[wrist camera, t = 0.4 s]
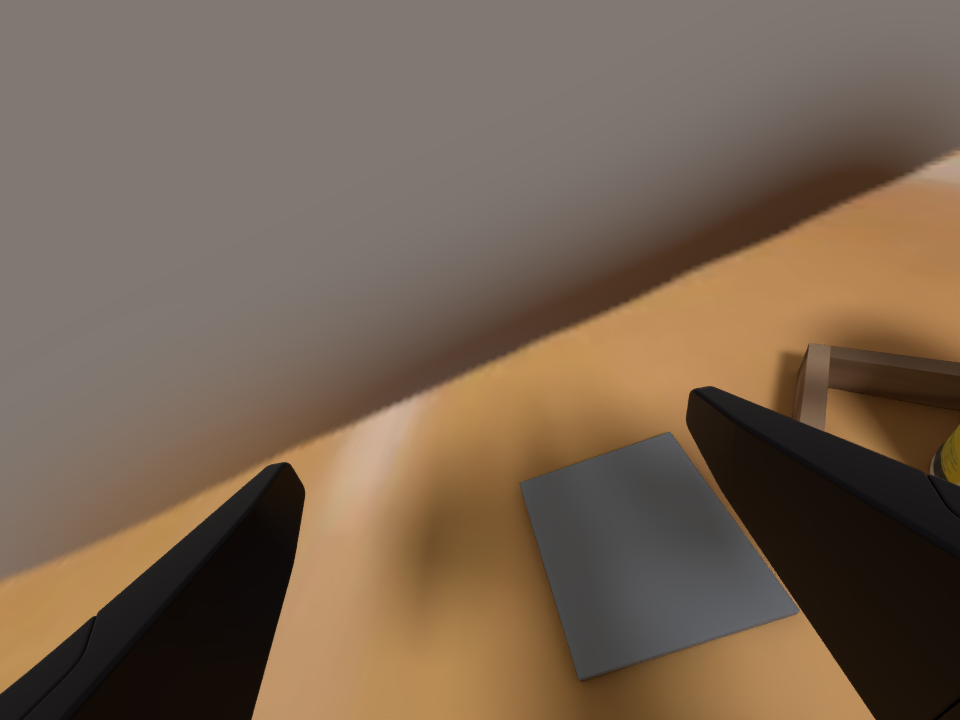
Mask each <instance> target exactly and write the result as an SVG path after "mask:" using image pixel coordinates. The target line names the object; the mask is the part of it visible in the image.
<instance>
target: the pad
mask: <svg viewBox="0 0 960 720" xmlns="http://www.w3.org/2000/svg"><path fill="white" fill-rule="evenodd" d="M519 484H520V487H521V490H522V494H523V497H524V500H525V504H526V507H527V510H528V513H529V517H530V520H531V523H532V527H533V530H534V533H535V537H536V540H537V543H538V547H539V550H540V553H541V557H542V560H543V563H544V566H545V570H546V573H547V576H548V580H549V583H550V586H551V590H552V593H553V596H554V600H555V603H556V606H557V610H558V613H559V616H560V619H561V623H562V626H563V629H564V633H565V636H566V639H567V643H568V646H569V649H570V653H571V656H572V659H573V663H574V666H575V669H576V672H577V676H578V679H579V680H580V681H583V680H586V679H589V678H592V677H595V676H599V675H602V674H605V673H608V672H612V671H615V670H618V669H621V668H625V667H628V666H631V665H634V664H637V663H641V662H644V661H647V660H650V659H654V658H657V657H660V656H663V655H666V654H670V653H673V652H676V651H679V650H683V649H686V648H689V647H692V646H696V645H699V644H702V643H705V642H708V641H712V640H715V639H718V638H721V637H725V636H728V635H731V634H734V633H738V632H741V631H744V630H747V629H750V628H754V627H757V626H760V625H763V624H767V623H770V622H773V621H776V620H779V619H783V618H786V617H789V616H792V615H796V614H797V613H798V612H799V611H800V610H799V609H798V607H797V606H796V605H795V603H794V602H793V601H792V599H791V598H790V596H789V595H788V594H787V592H786V591H785V590H784V588H783V587H782V585H781V584H780V583H779V581H778V580H777V578H776V577H775V576H774V574H773V573H772V572H771V570H770V569H769V567H768V566H767V565H766V563H765V562H764V561H763V559H762V558H761V556H760V555H759V554H758V552H757V551H756V550H755V548H754V547H753V545H752V544H751V543H750V541H749V540H748V539H747V537H746V536H745V534H744V533H743V532H742V530H741V529H740V528H739V526H738V525H737V523H736V522H735V521H734V519H733V518H732V517H731V515H730V514H729V512H728V511H727V510H726V508H725V507H724V505H723V504H722V503H721V501H720V500H719V499H718V497H717V496H716V494H715V493H714V492H713V490H712V489H711V488H710V486H709V485H708V483H707V482H706V481H705V479H704V478H703V477H702V475H701V474H700V472H699V471H698V470H697V468H696V467H695V466H694V464H693V463H692V461H691V460H690V459H689V457H688V456H687V455H686V453H685V452H684V450H683V449H682V448H681V446H680V445H679V444H678V442H677V441H676V439H675V438H674V437H673V435H672V434H671V432H668V433H665V434H662V435H659V436H656V437H653V438H650V439H647V440H644V441H641V442H639V443H636V444H633V445H630V446H627V447H624V448H621V449H618V450H615V451H612V452H609V453H606V454H603V455H600V456H597V457H594V458H591V459H588V460H585V461H582V462H580V463H577V464H574V465H571V466H568V467H565V468H562V469H559V470H556V471H553V472H550V473H547V474H544V475H541V476H538V477H535V478H532V479H529V480H526V481H523V482H520V483H519Z"/></svg>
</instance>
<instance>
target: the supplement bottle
mask: <svg viewBox="0 0 960 720" xmlns="http://www.w3.org/2000/svg"><path fill="white" fill-rule="evenodd" d="M930 474H931V475H934V476H936V477H939V478H941V479H944V480H946V481H949V482H951V483H954V484H956V485H958V486H960V425H959V426H958V427H957V428H956V430H955V431H954V432H953V433H952V434H951V435H950V437H949V438H948V439H947V440H946V441H945V442H944V443H943V445H942V446H941V447H940V448H939V450H938V451H937V452H936V454H935V455H934V457H933V459H932V462H931V466H930Z"/></svg>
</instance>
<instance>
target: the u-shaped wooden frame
mask: <svg viewBox="0 0 960 720" xmlns="http://www.w3.org/2000/svg"><path fill="white" fill-rule="evenodd" d="M828 387H830V388H835V389H841V390H846V391H852V392H858V393H863V394H869V395H875V396H880V397H886V398H892V399H897V400H903V401H909V402H914V403H920V404H926V405H931V406H937V407H943V408H948V409H954V410H959V411H960V363H958V362H950V361H943V360H935V359H927V358H920V357H912V356H905V355H897V354H889V353H882V352H874V351H866V350H859V349H851V348H843V347H836V346H828V345H820V344H813V343H809V345H808V348H807V350H806V353H805V356H804V358H803V361H802V364H801V366H800V369H799V373H798V380H797V388H796V396H795V403H794V411H793V418H792V419H795V420H797V421H800V422H802V423H805V424H807V425H810V426H812V427H815V428H817V429H819V430H822V431H824V429H825V416H826V403H827V389H828Z"/></svg>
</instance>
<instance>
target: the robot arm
mask: <svg viewBox="0 0 960 720" xmlns="http://www.w3.org/2000/svg"><path fill="white" fill-rule="evenodd" d="M686 423H687V427H688V429H689V431H690V433H691V435H692V437H693V439H694V441H695V442H696V444H697V446H698V448H699V450H700V452H701V454H702V456H703V458H704V460H705V461H706V463H707V465H708V467H709V469H710V471H711V473H712V475H713V477H714V478H715V480H716V482H717V484H718V486H719V487H720V489H721V491H722V492H723V494H724V495H725V497H726V499H727V500H728V502H729V503H730V505H731V506H732V508H733V509H734V510H735V512H736V513H737V515H738V516H739V518H740V519H741V521H742V522H743V524H744V525H745V527H746V528H747V530H748V531H749V533H750V534H751V536H752V537H753V539H754V540H755V542H756V543H757V545H758V546H759V548H760V549H761V550H762V552H763V553H764V555H765V556H766V558H767V559H768V561H769V562H770V564H771V565H772V567H773V568H774V570H775V571H776V573H777V574H778V576H779V577H780V579H781V580H782V582H783V583H784V585H785V586H786V588H787V589H788V591H789V592H790V593H791V595H792V596H793V598H794V599H795V601H796V602H797V604H798V605H799V607H800V608H801V610H802V611H803V613H804V614H805V616H806V617H807V619H808V620H809V622H810V623H811V625H812V626H813V628H814V629H815V631H816V632H817V634H818V635H819V636H820V638H821V639H822V641H823V642H824V644H825V645H826V647H827V648H828V650H829V651H830V653H831V654H832V656H833V657H834V659H835V660H836V662H837V663H838V665H839V666H840V668H841V669H842V671H843V672H844V674H845V675H846V676H847V678H848V679H849V681H850V682H851V684H852V685H853V687H854V688H855V690H856V691H857V693H858V694H859V696H860V697H861V699H862V700H863V702H864V703H865V705H866V706H867V708H868V709H869V711H870V712H871V714H872V715H873V717H874V718H875V719H876V720H960V486H958V485H956V484H954V483H951V482H949V481H946V480H944V479H941V478H939V477H936V476H934V475H931V474H929V475H926V474H925V472H923V471H921V470H919V469H916V468H914V467H911V466H909V465H906V464H904V463H901V462H899V461H896V460H894V459H891V458H889V457H886V456H884V455H881V454H879V453H876V452H874V451H872V450H869V449H867V448H864V447H862V446H859V445H857V444H854V443H852V442H849V441H847V440H844V439H842V438H839V437H837V436H834V435H832V434H829V433H827V432H824V431H822V430H819V429H817V428H815V427H812V426H810V425H807V424H805V423H802V422H800V421H797V420H795V419H792V418H790V417H787V416H785V415H782V414H780V413H777V412H775V411H772V410H770V409H767V408H765V407H762V406H760V405H757V404H755V403H753V402H750V401H748V400H745V399H743V398H740V397H738V396H735V395H733V394H730V393H728V392H725V391H723V390H720V389H718V388H715V387H712V386H707V387H701V388H696V389H693V390H692V391H691V392H690V394H689V400H688V407H687V414H686ZM304 500H305V489H304V486H303V484H302V482H301V480H300V479H299V477H298V475H297V474H296V472H295V470H294V469H293V467H292V466H291V464H289V463H287V462H282V463H277V464H271V465H269V466H267V467H266V468H264V469H263V470H262V471H261V472H260V473H259V474H258V475H256V476H255V477H254V478H253V479H252V480H251V481H249V482H248V483H247V484H246V485H245V486H244V487H242V488H241V489H240V490H239V491H238V492H237V493H235V494H234V495H233V496H232V497H231V498H230V499H229V500H227V501H226V502H225V503H224V504H223V505H222V506H220V507H219V508H218V509H217V510H216V511H215V512H213V513H212V514H211V515H210V516H209V517H208V518H207V519H205V520H204V521H203V522H202V523H201V524H200V525H198V526H197V527H196V528H195V529H194V530H193V531H191V532H190V533H189V534H188V535H187V536H186V537H185V538H183V539H182V540H181V541H180V542H179V543H178V544H176V545H175V546H174V547H173V548H172V549H171V550H169V551H168V552H167V553H166V554H165V555H164V556H162V557H161V558H160V559H159V560H158V561H157V562H156V563H154V564H153V565H152V566H151V567H150V568H149V569H147V570H146V571H145V572H144V573H143V574H142V575H140V576H139V577H138V578H137V579H136V580H135V581H134V582H132V583H131V584H130V585H129V586H128V587H127V588H125V589H124V590H123V591H122V592H121V593H120V594H118V595H117V596H116V597H115V598H114V599H113V600H111V601H110V602H109V603H108V604H107V605H106V606H105V607H103V608H102V609H101V610H100V611H99V612H98V613H97V616H93V617H92V618H90V619H89V620H88V621H87V622H86V623H85V624H84V625H82V626H81V627H80V628H79V629H78V630H77V631H76V632H74V633H73V634H72V635H71V636H70V637H69V638H67V639H66V640H65V641H64V642H63V643H61V644H60V645H59V646H58V647H57V648H56V649H54V650H53V651H52V652H51V653H50V654H48V655H47V656H46V657H45V658H44V659H43V660H41V661H40V662H39V663H38V664H37V665H35V666H34V667H33V668H32V669H31V670H30V671H28V672H27V673H26V674H25V675H23V676H22V677H21V678H20V679H18V680H17V681H16V682H15V683H13V684H12V685H11V686H10V687H9V688H7V689H6V690H5V691H4V692H2V693H1V694H0V720H251V719H252V715H253V712H254V708H255V704H256V701H257V697H258V693H259V690H260V686H261V682H262V679H263V675H264V671H265V668H266V664H267V660H268V657H269V653H270V649H271V646H272V642H273V638H274V635H275V631H276V627H277V624H278V620H279V616H280V613H281V609H282V605H283V602H284V598H285V594H286V591H287V587H288V583H289V580H290V576H291V572H292V568H293V564H294V560H295V554H296V549H297V543H298V537H299V531H300V525H301V519H302V513H303V507H304Z"/></svg>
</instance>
